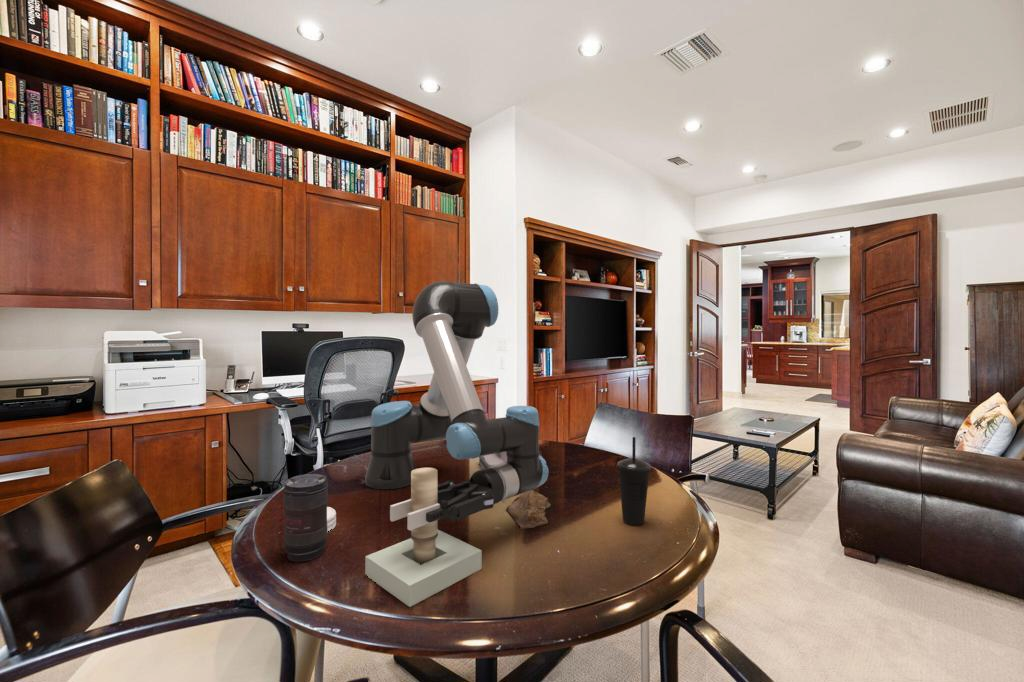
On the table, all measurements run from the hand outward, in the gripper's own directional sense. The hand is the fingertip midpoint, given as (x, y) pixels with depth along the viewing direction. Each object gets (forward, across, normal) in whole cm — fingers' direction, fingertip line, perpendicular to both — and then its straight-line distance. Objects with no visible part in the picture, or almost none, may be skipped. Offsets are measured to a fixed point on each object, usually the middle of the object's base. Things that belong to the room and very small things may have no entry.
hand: (400, 517), depth 78 cm
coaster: (+1, +34, -12) cm, 36 cm away
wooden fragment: (-42, +6, -12) cm, 44 cm away
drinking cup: (-52, -18, -12) cm, 57 cm away
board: (-5, 0, -12) cm, 13 cm away
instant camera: (-62, +31, -12) cm, 71 cm away
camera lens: (+7, +23, -12) cm, 27 cm away
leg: (-5, 0, -9) cm, 10 cm away
